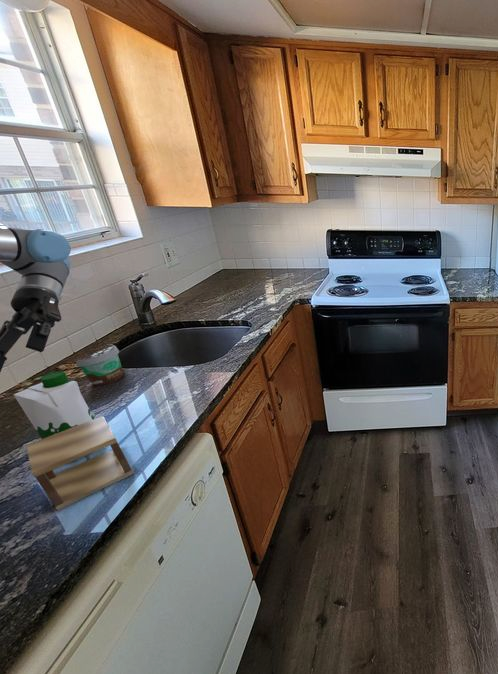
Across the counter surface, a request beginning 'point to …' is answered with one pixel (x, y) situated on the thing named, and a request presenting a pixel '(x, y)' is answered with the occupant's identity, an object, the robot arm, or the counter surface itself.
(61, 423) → the soya milk
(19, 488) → the counter surface
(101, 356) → the food container
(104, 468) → the rack
